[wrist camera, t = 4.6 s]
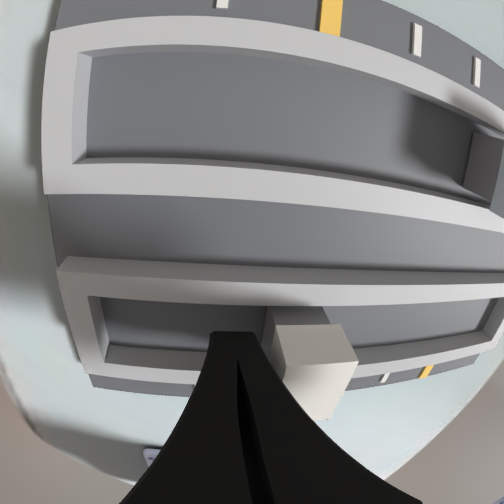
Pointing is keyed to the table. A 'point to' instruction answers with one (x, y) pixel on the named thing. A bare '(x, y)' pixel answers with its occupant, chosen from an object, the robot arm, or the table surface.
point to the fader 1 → (309, 356)
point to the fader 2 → (486, 171)
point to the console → (268, 183)
